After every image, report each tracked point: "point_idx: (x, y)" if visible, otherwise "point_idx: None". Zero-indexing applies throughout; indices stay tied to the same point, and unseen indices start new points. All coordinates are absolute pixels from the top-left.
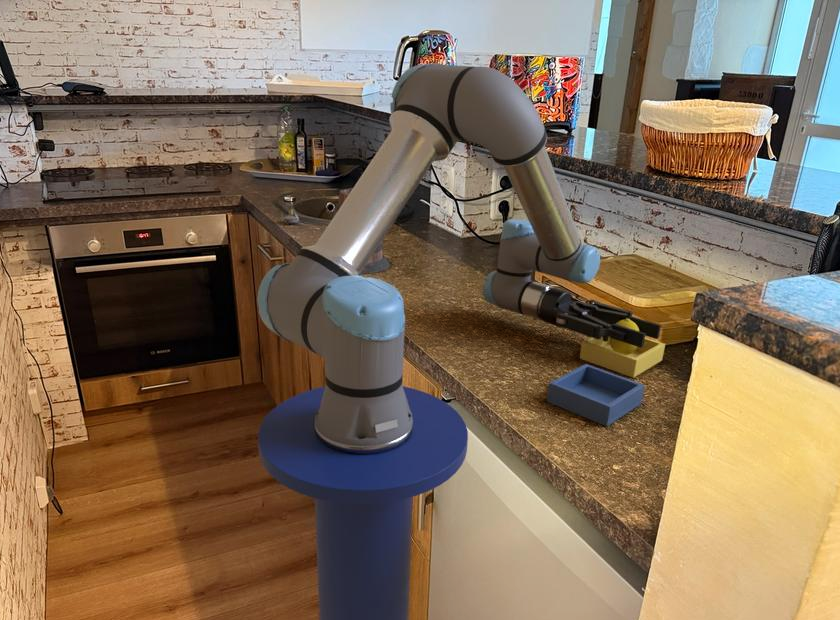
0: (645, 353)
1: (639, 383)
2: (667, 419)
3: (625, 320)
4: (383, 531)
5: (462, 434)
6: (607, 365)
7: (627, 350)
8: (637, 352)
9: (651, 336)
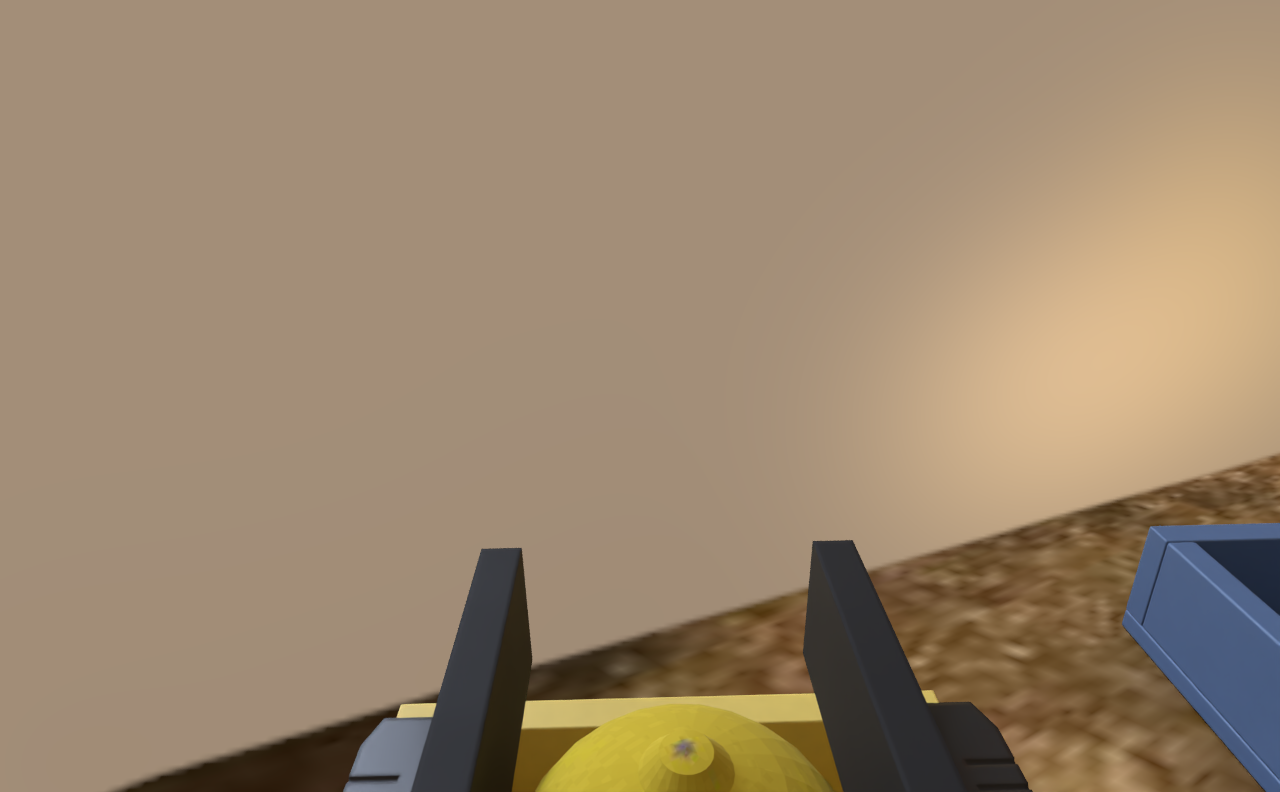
0: (742, 709)
1: (1177, 543)
2: (1081, 522)
3: (724, 778)
4: None
5: None
6: None
7: None
8: None
9: (525, 695)
